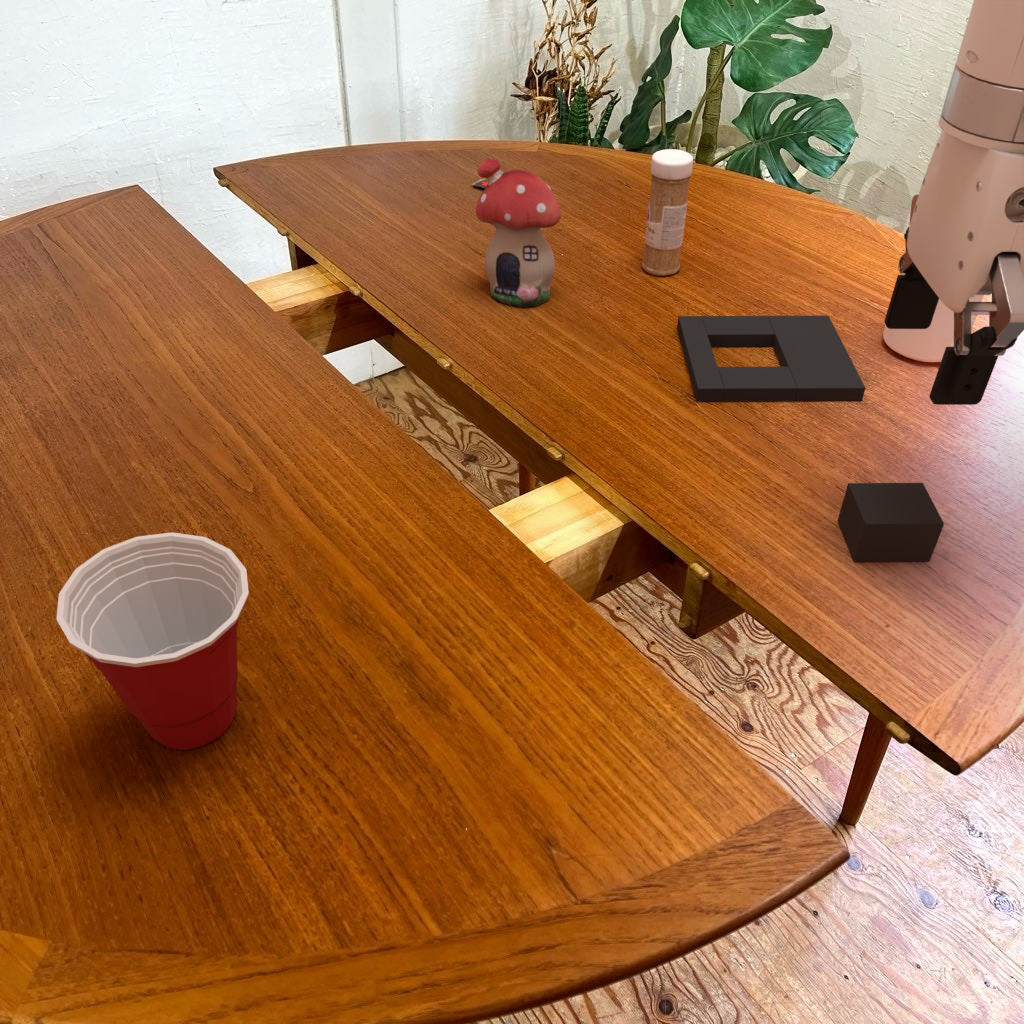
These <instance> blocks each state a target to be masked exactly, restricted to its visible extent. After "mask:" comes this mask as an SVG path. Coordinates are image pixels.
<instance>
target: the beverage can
mask: <svg viewBox="0 0 1024 1024" xmlns="http://www.w3.org/2000/svg"><path fill="white" fill-rule="evenodd" d="M899 275H905V273H900V272H899ZM984 296H985V295H975V296H974V297H969V302H983V298H984ZM977 316H978V315H971V331H972V330H973V327H974V325H975V321H976V319H977ZM882 338H883V341H884V344H886V345H887V347H888V348H890V349H891V350H892V351H894V352H895V353H897V354H898V355H901V356H902V357H905V358H908V359H910V360H914V361H918V362H925V363H941V361H942V358H943V355H944V352H945V349H946V347H954V312H953V311H952V310H950V309H949V308H948V307H947V306H946V305H945V304H944V303H943V302H942V301H941V300H940V299H939V300H938V303H937V307H936V310H935V313H934V316H933V319H932V322H931V325H930V326H929V327H928V328H927V329H889V328H887V326H886V324H885V323H884V328H883V331H882Z"/></svg>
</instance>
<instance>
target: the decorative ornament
mask: <svg viewBox="0 0 1024 1024" xmlns="http://www.w3.org/2000/svg"><path fill="white" fill-rule="evenodd" d="M477 175H478V176H479V177H480V178H481V179H482V178H483V179H485V178H486V179H487V181H488V184H487V186H486V188H484V189H483V191H482V193H481V194H480V195H479V197H478V199H477V202H476V205H475V215H476V218H477V220H479V221H480V222H482V223H485V224H490V225H492V226H493V227H494V228H495V231H494V233H493V235H492V236H491V238H490V240H489V242H488V245H487V248H486V250H485V256H484V267H485V272H486V275H487V279H488V281H489V286H490V287H489V288H490V292H489V294H490V296H491V297H493V298H494V299H495V300H496V301H498V302H500V303H501V304H504V305H509V306H514V307H517V308H518V307H519V308H526V307H536V306H539V305H542V304H543V303H545V302H548V300H549V298H550V295H551V285H552V280H553V278H554V274H555V266H556V262H555V255H554V253H553V250H552V246H551V245H550V244H549V242H548V240H547V238H546V237H545V235H544V234H543V232H542V230H541V229H547V228H552V227H554V226H556V225H557V224H559V222H560V220H561V217H562V212H561V208H560V204H559V202H558V199H557V198H556V196H555V195H554V192H553V191H552V189H551V187H550V185H549V184H548V183H546V182H545V181H544V180H543V179H541V177H539V176H537V175H536V174H534V173H533V172H531V171H528V170H525V169H519V168H517V169H516V168H515V169H512V170H508V171H502V170H501V163H500V161H499V160H498V159H496V158H494V157H493V158H487V159H485V160H484V161H482V162H481V163H480V164H479V165H478V168H477Z"/></svg>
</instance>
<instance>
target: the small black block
mask: <svg viewBox="0 0 1024 1024" xmlns="http://www.w3.org/2000/svg"><path fill="white" fill-rule="evenodd" d="M837 523H838V526H839V528H840V530H841V533H842V536H843V538H844V540H845V544H846V546H847V548H848V551H849V553H850V556H851V558H852V560H853V562H854V563H880V562H881V563H899V562H900V563H901V562H903V563H904V562H905V563H913V562H914V563H915V562H916V563H917V562H919V563H921V562H922V563H923V562H927V563H928V562H931V559H932V557H933V554H934V551H935V549H936V546H937V544H938V541H939V538H940V536H941V533H942V531H943V529H944V526H945V522H944V520H943V519H942V517H941V514H940V513H939V511H938V509H937V507H936V505H935V503H934V502H933V499H932V498H931V495H930V494H929V491H928V490H927V488H926V486H925V484H924V482H848V483H847V486H846V489H845V493H844V496H843V500H842V503H841V506H840V510H839V513H838V517H837Z"/></svg>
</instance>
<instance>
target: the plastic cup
mask: <svg viewBox="0 0 1024 1024" xmlns="http://www.w3.org/2000/svg"><path fill="white" fill-rule="evenodd" d="M249 593H250V592H249V582H248V573H247V568H246V567H245V565H244V564H243V563H242V562H241V560H239V558H238V557H237V556H236V554H235V553H234V552H233V550H232V549H231V548H229V547H226V546H224V545H222V544H220V543H218V542H217V541H214V540H212V539H210V538H208V537H206V536H203V535H202V536H201V535H193V534H186V533H179V532H164V533H155V534H147V535H139V536H138V535H137V536H135V537H132V538H129V539H127V540H124V541H121V542H118V543H116V544H113V545H111V546H108V547H105V548H103V549H101V550H100V551H99V552H97V553H95V554H94V555H93V556H91V557H90V558H89V559H87V560H86V561H84V562H83V563H81V564H80V565H79V566H78V567H76V568H75V569H74V571H73V572H72V573H71V575H70V577H69V578H68V580H67V581H66V583H65V584H64V585H63V586H62V588H61V590H60V591H59V592H58V600H57V610H56V621H57V623H58V625H59V626H60V628H61V630H62V632H63V633H64V636H65V637H66V638H67V640H68V643H69V644H70V645H71V646H72V647H73V648H74V649H76V650H78V651H80V652H82V653H83V654H85V655H86V657H87V658H88V660H90V661H92V663H93V665H94V666H95V667H96V669H97V670H98V671H100V672H101V674H102V675H103V676H104V677H105V679H106V680H107V681H108V683H109V684H110V686H111V687H112V688H113V690H114V691H115V692H116V694H117V695H118V697H119V698H120V699H121V701H122V702H123V703H124V704H125V707H126V708H127V709H128V710H129V711H130V713H131V714H132V716H133V717H134V718H136V719H138V721H139V722H140V723H141V726H143V728H144V729H145V731H146V732H147V733H148V735H149V736H150V737H151V738H152V739H154V740H155V741H156V742H157V743H159V744H160V745H162V746H164V747H166V748H167V749H173V750H182V751H187V750H188V751H189V750H192V749H197V748H201V747H204V746H206V745H209V743H212V742H213V741H215V740H217V739H219V738H220V737H221V736H223V734H224V733H225V732H226V731H227V730H228V729H229V728H230V727H231V726H232V723H233V721H234V718H235V716H236V713H237V707H238V693H237V689H238V688H237V681H238V678H239V677H238V626H239V617H240V616H241V613H242V611H243V608H244V606H245V604H246V602H247V599H248V598H249Z"/></svg>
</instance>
